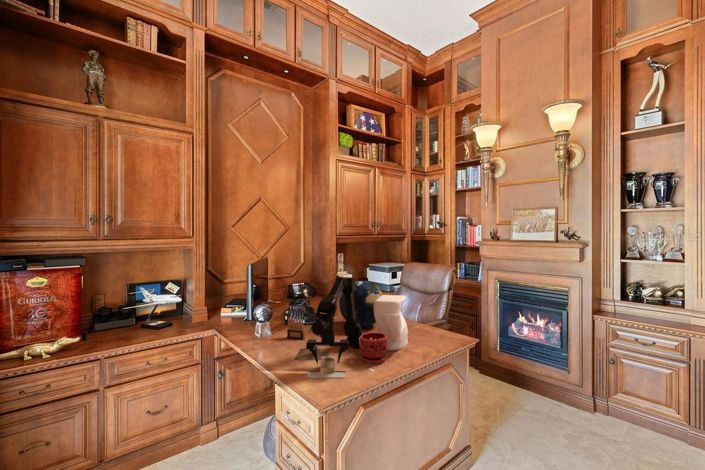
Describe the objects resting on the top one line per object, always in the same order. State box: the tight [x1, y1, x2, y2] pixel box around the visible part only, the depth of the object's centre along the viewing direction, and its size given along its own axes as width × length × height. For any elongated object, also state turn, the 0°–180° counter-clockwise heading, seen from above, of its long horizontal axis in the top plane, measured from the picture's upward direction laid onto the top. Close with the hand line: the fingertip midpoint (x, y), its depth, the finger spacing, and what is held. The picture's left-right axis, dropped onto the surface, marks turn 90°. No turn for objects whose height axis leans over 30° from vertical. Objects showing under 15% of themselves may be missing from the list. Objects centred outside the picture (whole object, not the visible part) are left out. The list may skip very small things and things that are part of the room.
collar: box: [319, 356, 336, 373], centre depth 147 cm, size 6×6×5 cm
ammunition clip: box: [286, 317, 305, 341], centre depth 192 cm, size 11×2×12 cm, turn 69°
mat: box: [307, 370, 347, 379], centre depth 147 cm, size 16×14×1 cm
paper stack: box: [374, 294, 409, 351], centre depth 179 cm, size 21×27×26 cm
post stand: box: [294, 347, 331, 361], centre depth 165 cm, size 16×16×7 cm
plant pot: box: [359, 331, 387, 364], centre depth 160 cm, size 13×13×12 cm
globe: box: [338, 280, 384, 328], centre depth 217 cm, size 30×30×30 cm
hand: (327, 363), depth 147 cm, fingers open, 9 cm apart
